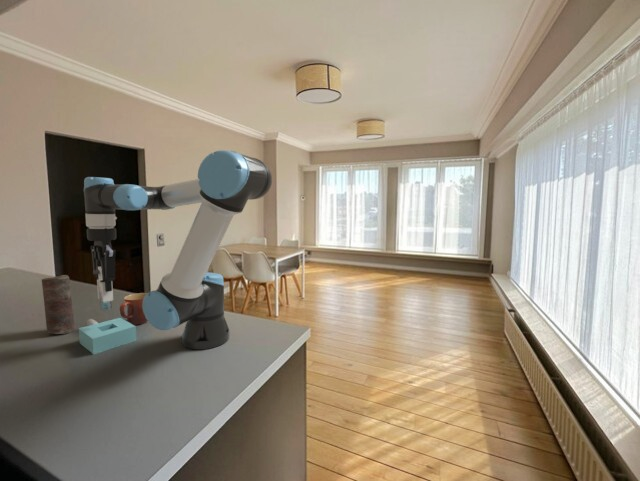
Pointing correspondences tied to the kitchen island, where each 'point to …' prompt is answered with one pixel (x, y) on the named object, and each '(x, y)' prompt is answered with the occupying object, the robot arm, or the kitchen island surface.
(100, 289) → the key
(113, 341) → the chuck block
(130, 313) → the mug
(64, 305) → the brown mottled cylinder
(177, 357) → the kitchen island surface
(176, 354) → the kitchen island surface
